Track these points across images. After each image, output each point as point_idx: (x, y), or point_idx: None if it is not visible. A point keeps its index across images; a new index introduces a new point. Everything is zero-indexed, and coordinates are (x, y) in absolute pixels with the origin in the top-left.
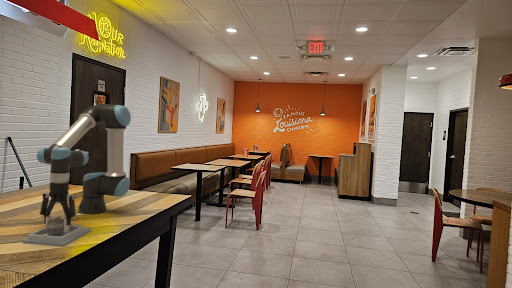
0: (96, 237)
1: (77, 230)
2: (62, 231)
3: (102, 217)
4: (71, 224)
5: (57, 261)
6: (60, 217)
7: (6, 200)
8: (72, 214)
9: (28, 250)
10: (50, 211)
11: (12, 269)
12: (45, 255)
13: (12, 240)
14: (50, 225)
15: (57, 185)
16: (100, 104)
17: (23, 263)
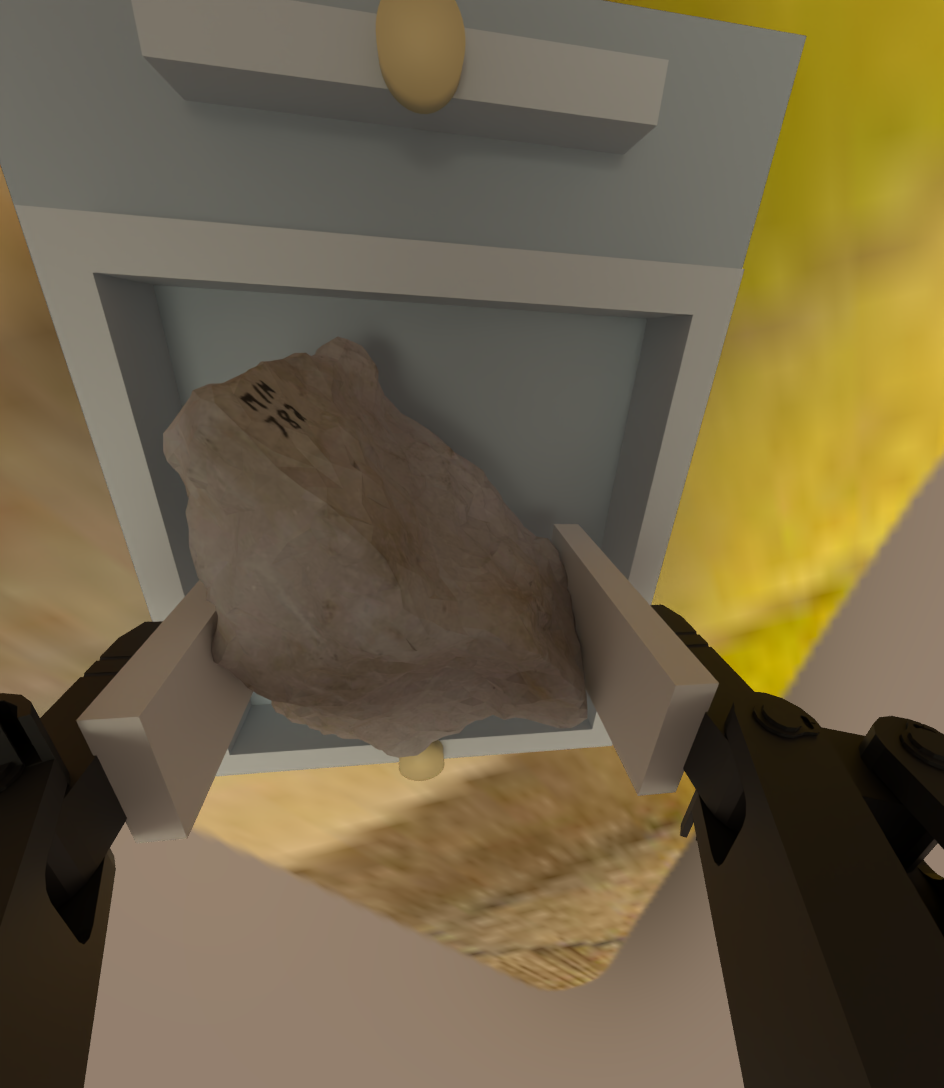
0: (858, 402)
1: (683, 458)
2: (389, 364)
3: None
4: (444, 100)
5: (663, 853)
6: (397, 587)
7: None
8: (931, 906)
9: (394, 804)
10: (31, 955)
11: (497, 945)
12: (558, 824)
13: (32, 695)
14: (378, 741)
15: None
16: None
17: (503, 906)
